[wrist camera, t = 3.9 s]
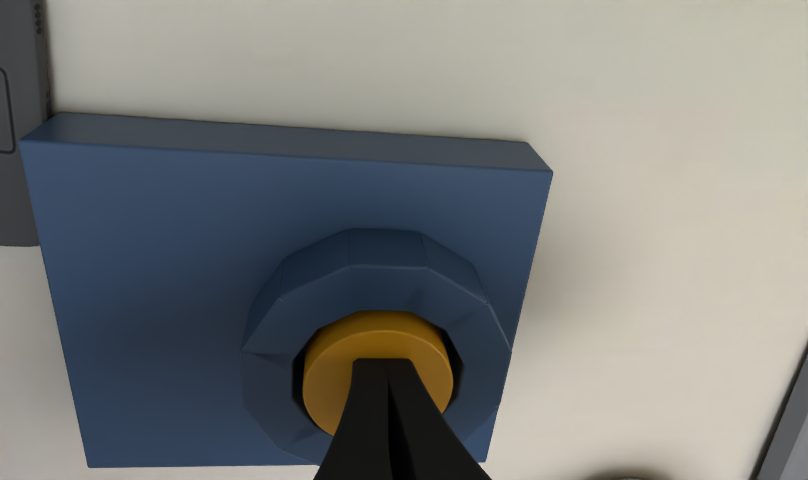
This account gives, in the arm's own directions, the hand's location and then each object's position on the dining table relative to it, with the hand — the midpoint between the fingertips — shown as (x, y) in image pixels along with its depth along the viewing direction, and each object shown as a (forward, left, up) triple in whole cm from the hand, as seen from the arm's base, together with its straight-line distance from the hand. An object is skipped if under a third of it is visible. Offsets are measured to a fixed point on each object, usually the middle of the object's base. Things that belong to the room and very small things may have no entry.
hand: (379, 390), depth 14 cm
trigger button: (0, 0, -2) cm, 2 cm away
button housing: (-2, 0, -4) cm, 5 cm away
